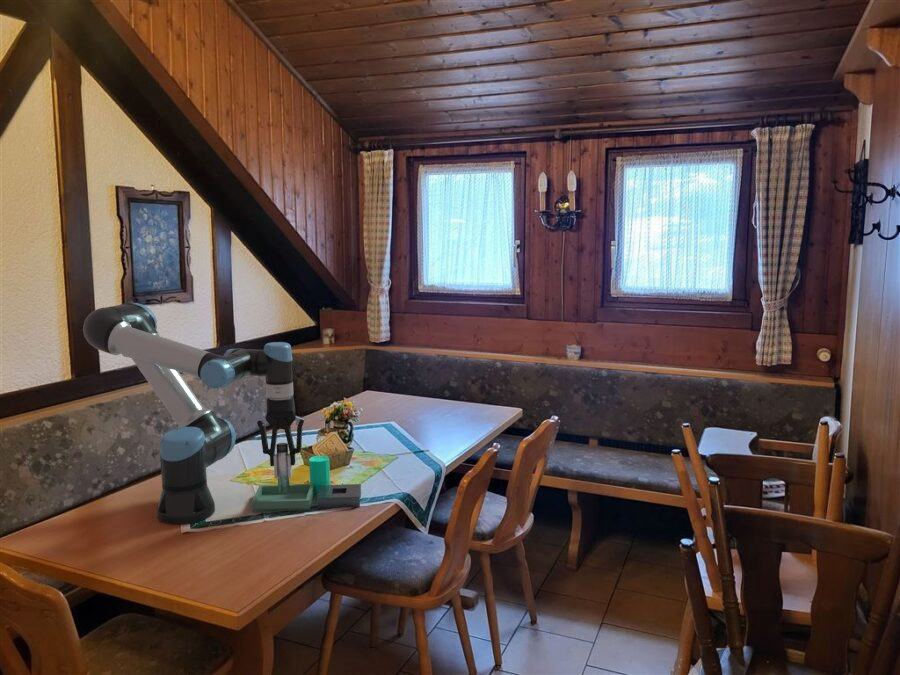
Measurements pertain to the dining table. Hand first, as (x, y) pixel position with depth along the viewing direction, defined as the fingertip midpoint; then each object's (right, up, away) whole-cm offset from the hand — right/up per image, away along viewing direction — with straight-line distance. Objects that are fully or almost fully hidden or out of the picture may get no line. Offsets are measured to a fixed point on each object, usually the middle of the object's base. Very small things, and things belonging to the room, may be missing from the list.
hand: (283, 476), depth 208 cm
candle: (+9, -7, +11) cm, 16 cm away
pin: (0, -4, +1) cm, 5 cm away
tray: (0, -8, +1) cm, 8 cm away
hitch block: (+16, -8, +3) cm, 18 cm away
